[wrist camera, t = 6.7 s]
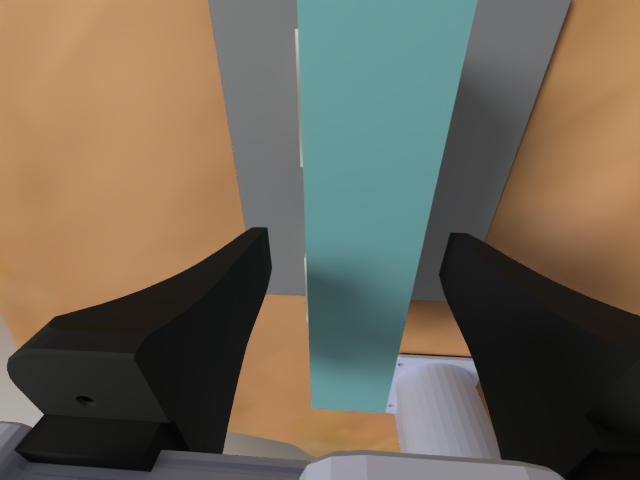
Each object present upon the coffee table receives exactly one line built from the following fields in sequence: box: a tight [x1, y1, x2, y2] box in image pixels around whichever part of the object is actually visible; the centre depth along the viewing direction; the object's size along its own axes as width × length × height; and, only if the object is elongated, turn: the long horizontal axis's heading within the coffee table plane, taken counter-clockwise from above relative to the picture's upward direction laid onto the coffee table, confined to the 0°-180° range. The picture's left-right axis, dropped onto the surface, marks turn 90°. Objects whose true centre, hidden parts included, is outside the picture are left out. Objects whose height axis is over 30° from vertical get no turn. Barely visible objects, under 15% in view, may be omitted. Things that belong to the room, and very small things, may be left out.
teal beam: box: [297, 0, 477, 413], centre depth 12 cm, size 16×4×5 cm, turn 0°
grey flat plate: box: [208, 0, 571, 302], centre depth 17 cm, size 18×16×1 cm
